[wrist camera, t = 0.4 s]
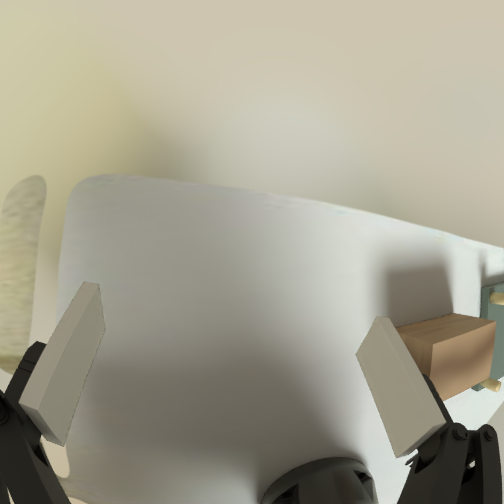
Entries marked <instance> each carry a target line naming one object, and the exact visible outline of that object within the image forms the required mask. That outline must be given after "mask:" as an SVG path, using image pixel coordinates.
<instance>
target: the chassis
mask: <svg viewBox="0 0 504 504" xmlns="http://www.w3.org/2000/svg"><path fill="white" fill-rule="evenodd" d="M480 318H483V319H488V320H494V321H496V332H495V342H494V350H493V357H492V364H491V370H490V376H489V378H487V379H485V380H484V381H482V382H480V383H478V384H476V385H474V386H473V387H472V389H473V390H475V391H477V392H478V391H480V390H481V389H483V388H487V389H490V390H492V391H495V392H498V391H499V389H500V387H501V382H500V381H497V380H498V379H500V378H501V377H503V376H504V282H501V283H498V284H494V285H490V286H486V287H483V288H481V317H480Z"/></svg>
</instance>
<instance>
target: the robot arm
mask: <svg viewBox="0 0 504 504" xmlns="http://www.w3.org/2000/svg"><path fill="white" fill-rule="evenodd" d="M104 332H105V324H104V317H103V311H102V304H101V296H100V288H99V284H93V283H88V282H84V283H83V284H82V286H81V288H80V289H79V291H78V292H77V294H76V295H75V297H74V299H73V300H72V302H71V303H70V305H69V307H68V308H67V310H66V312H65V313H64V315H63V317H62V318H61V320H60V322H59V324H58V325H57V327H56V329H55V331H54V332H53V334H52V336H51V338H50V339H49V341H48V343H47V344H44V343H41V342H38V341H36V342H35V343H34V344H33V345H32V346H30V347H29V348H28V349H27V351H26V353H25V355H24V356H23V358H22V361H21V362H20V364H19V366H18V369H16V371H15V373H14V375H13V377H12V379H11V381H10V383H9V385H8V387H7V389H6V391H5V393H3V392H2V391H1V390H0V504H10V499H9V495H8V490H9V492H10V495H11V497H12V499H13V502H14V504H71V503H70V501H69V499H68V497H67V496H66V494H65V492H64V490H63V488H62V486H61V485H60V483H59V481H58V479H57V477H56V475H55V473H54V471H53V469H52V467H51V465H50V462H49V460H48V458H47V456H46V454H45V451H44V449H43V447H42V444H41V443H40V438H41V435H43V436H44V438H45V439H46V440H47V441H50V442H52V443H55V444H58V445H61V446H64V445H65V442H66V438H67V435H68V431H69V428H70V425H71V422H72V418H73V415H74V412H75V409H76V406H77V403H78V400H79V397H80V394H81V392H82V389H83V386H84V383H85V380H86V378H87V375H88V372H89V370H90V367H91V364H92V362H93V359H94V357H95V354H96V352H97V349H98V347H99V344H100V342H101V339H102V337H103V335H104ZM356 357H357V359H358V361H359V364H360V366H361V368H362V371H363V373H364V376H365V378H366V381H367V383H368V386H369V388H370V391H371V393H372V396H373V398H374V401H375V403H376V406H377V408H378V411H379V414H380V416H381V419H382V421H383V424H384V427H385V429H386V432H387V435H388V438H389V440H390V443H391V446H392V449H393V451H394V454H395V457H396V458H399V457H402V456H406V455H409V454H410V453H412V452H413V451H414V450H415V449H417V450H418V453H417V454H416V455H415V456H413V457H412V458H411V459H409V460H408V461H407V462H406V464H405V465H408V464H410V463H411V462H412V461H413V463H412V464H411V465H410V466H409V467H411V469H410V472H409V475H408V477H407V480H406V483H405V485H404V488H403V490H402V493H401V495H400V498H399V500H398V502H397V504H502V476H501V463H500V454H499V445H498V438H497V433H496V431H495V430H494V428H493V427H492V426H490V425H488V424H484V425H483V426H481V427H480V428H479V429H478V430H477V431H475V430H467V429H466V428H465V426H464V425H462V424H461V423H457V422H456V423H454V422H453V421H452V419H451V417H450V415H449V413H448V411H447V409H446V407H445V405H444V403H443V401H442V399H441V398H440V395H439V394H438V392H437V391H436V388H435V386H434V384H433V382H432V381H431V380H430V379H429V378H428V377H427V376H426V375H425V374H421V372H420V370H419V369H418V367H417V365H416V363H415V361H414V360H413V358H412V356H411V354H410V353H409V351H408V349H407V347H406V346H405V344H404V342H403V341H402V339H401V337H400V335H399V334H398V332H397V330H396V329H395V327H394V325H393V324H392V322H391V320H390V319H389V317H376V319H375V321H374V322H373V324H372V326H371V328H370V330H369V332H368V334H367V335H366V337H365V339H364V341H363V342H362V344H361V346H360V348H359V349H358V351H357V353H356ZM474 460H475V466H474V467H472V468H471V469H470V465H469V464H470V463H472V462H473V461H474ZM7 488H8V490H7ZM262 504H379V503H378V498H377V493H376V488H375V483H374V480H373V477H372V475H371V474H370V473H369V471H368V470H367V469H366V468H365V466H364V465H363V464H362V463H360V462H358V461H356V460H354V459H350V458H327V459H322V460H318V461H314V462H311V463H308V464H305V465H303V466H300V467H298V468H296V469H294V470H292V471H290V472H289V473H287V474H285V475H284V476H282V477H281V478H280V479H278V480H277V481H276V482H275V483H274V484H273V485H272V486H271V487H270V488H269V489H268V490H267V492H266V493H265V495H264V497H263V500H262Z"/></svg>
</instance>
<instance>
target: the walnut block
mask: <svg viewBox="0 0 504 504" xmlns="http://www.w3.org/2000/svg"><path fill="white" fill-rule="evenodd" d="M395 329H396V330H397V332H398V334H399V335H400V337H401V339H402V341H403V342H404V344H405V346H406V347H407V349H408V351H409V353H410V354H411V356H412V358H413V360H414V361H415V363H416V365H417V367H418V369H419V370H420V372H421V374H425V375H426V376H427V377H428V378H429V379H430V380H431V381H432V382H433V384H434V386H435V388H436V391H437V392H438V394H439V395H440V398H441V399H442V401H444V400H447V399H449V398H451V397H453V396H455V395H457V394H459V393H461V392H463V391H465V390H467V389H469V388H471V387H473V386H474V385H476V384H478V383H480V382H482V381H484V380H485V379H487V378H489V376H490V370H491V364H492V357H493V350H494V342H495V332H496V321H494V320H488V319H483V318H477V317H472V316H467V315H461V314H456V313H452V314H449V315H445V316H441V317H437V318H434V319H430V320H426V321H422V322H418V323H414V324H410V325H405V326H401V327H397V328H395Z"/></svg>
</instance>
